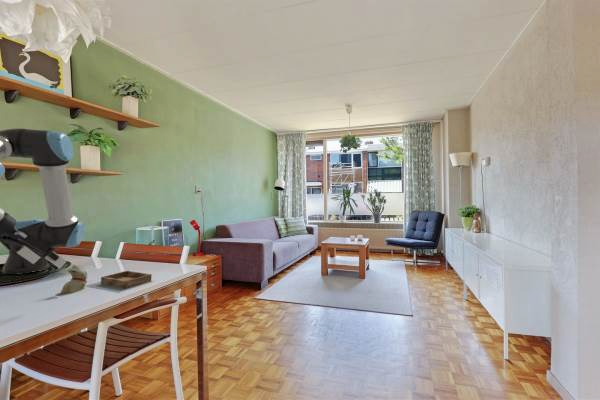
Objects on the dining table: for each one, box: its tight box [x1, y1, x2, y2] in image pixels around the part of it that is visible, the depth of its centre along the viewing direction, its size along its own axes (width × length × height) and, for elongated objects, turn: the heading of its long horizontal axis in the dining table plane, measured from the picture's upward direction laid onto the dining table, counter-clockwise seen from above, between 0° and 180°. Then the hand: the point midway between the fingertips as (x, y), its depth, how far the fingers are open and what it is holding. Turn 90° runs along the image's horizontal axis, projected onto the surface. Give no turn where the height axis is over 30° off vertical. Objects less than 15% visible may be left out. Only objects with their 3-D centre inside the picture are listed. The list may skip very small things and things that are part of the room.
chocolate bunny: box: [59, 264, 88, 295], centre depth 106 cm, size 6×8×10 cm
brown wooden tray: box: [100, 270, 152, 289], centre depth 117 cm, size 14×12×3 cm
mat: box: [85, 280, 154, 294], centre depth 116 cm, size 18×16×1 cm
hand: (49, 262), depth 98 cm, fingers open, 13 cm apart
